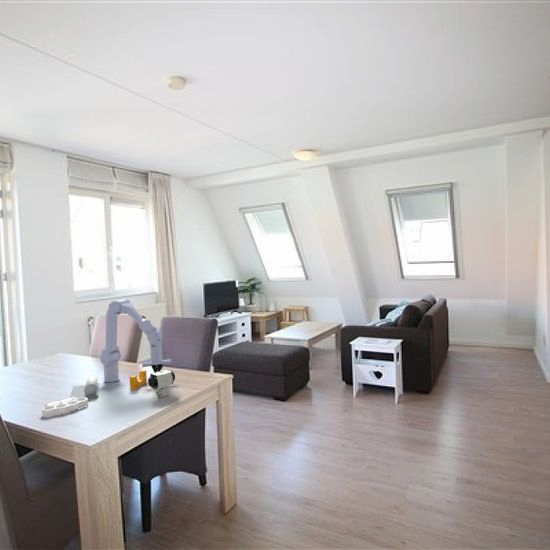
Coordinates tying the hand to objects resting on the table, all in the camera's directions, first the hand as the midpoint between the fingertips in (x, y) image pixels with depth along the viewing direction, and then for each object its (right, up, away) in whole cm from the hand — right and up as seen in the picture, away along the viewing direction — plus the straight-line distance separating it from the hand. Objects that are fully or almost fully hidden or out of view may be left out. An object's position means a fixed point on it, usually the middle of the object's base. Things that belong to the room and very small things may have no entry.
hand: (157, 379), depth 209 cm
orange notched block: (-9, -3, -4) cm, 10 cm away
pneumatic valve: (+9, -3, -21) cm, 23 cm away
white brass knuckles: (-30, -5, -34) cm, 46 cm away
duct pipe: (-31, -3, -13) cm, 34 cm away
